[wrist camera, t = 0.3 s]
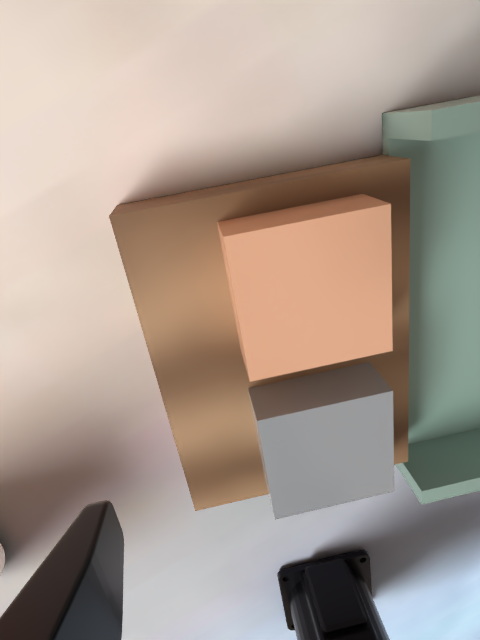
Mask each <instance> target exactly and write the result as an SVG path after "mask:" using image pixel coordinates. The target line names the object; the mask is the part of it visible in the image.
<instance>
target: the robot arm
mask: <svg viewBox="0 0 480 640" xmlns="http://www.w3.org/2000/svg"><path fill="white" fill-rule="evenodd" d="M123 565H124V538H123V532H122V529H121V526H120V523H119V521H118V518H117V515H116V513H115V510H114V507H113V505H112V503H111V502H110V501H107V500H105V501H101V502H96V503H92V504H89V505H87V506H86V507H85V508H84V509H83V510H82V512H81V513H80V514H79V516H78V517H77V518H76V519H75V521H74V522H73V523H72V525H71V526H70V527H69V529H68V530H67V531H66V533H65V534H64V535H63V536H62V538H61V539H60V540H59V542H58V543H57V544H56V546H55V547H54V548H53V550H52V551H51V552H50V553H49V555H48V556H47V557H46V559H45V560H44V561H43V563H42V564H41V565H40V566H39V568H38V569H37V570H36V572H35V573H34V574H33V576H32V577H31V578H30V580H29V581H28V582H27V583H26V585H25V586H24V587H23V589H22V590H21V591H20V593H19V594H18V595H17V597H16V598H15V599H14V600H13V602H12V603H11V604H10V606H9V607H8V608H7V610H6V611H5V612H4V613H3V615H2V616H1V617H0V640H121V636H122V614H123ZM278 580H279V586H280V591H281V596H282V601H283V606H284V611H285V616H286V622H287V626H288V629H289V630H295V631H296V636H297V640H390V639H389V637H388V635H387V632H386V630H385V628H384V625H383V623H382V620H381V618H380V616H379V613H378V611H377V608H376V606H375V604H374V601H373V599H372V592H371V572H370V558H369V555H368V553H367V551H365V550H360V551H355V552H351V553H347V554H343V555H339V556H335V557H331V558H327V559H322V560H318V561H314V562H310V563H306V564H302V565H298V566H294V567H290V568H285V569H282V570H280V571H279V572H278Z"/></svg>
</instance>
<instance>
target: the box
mask: <svg viewBox="0 0 480 640" xmlns="http://www.w3.org/2000/svg"><path fill="white" fill-rule="evenodd" d="M382 135H383V155H388V156H395V157H402V158H410V281H409V415H408V462H404V463H400V464H395V465H396V466H397V468H398V469H399V471H400V472H401V474H402V475H403V477H404V478H405V480H406V482H407V483H408V485H409V486H410V488H411V489H412V491H413V492H414V494H415V495H416V497H417V498H418V500H419V502H420V503H421V505H422V504H427V503H431V502H435V501H439V500H443V499H447V498H452V497H456V496H460V495H464V494H468V493H473V492H477V491H480V95H479V96H473V97H468V98H462V99H457V100H451V101H446V102H441V103H435V104H430V105H424V106H419V107H414V108H408V109H403V110H397V111H392V112H386V113H382Z"/></svg>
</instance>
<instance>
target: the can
mask: <svg viewBox="0 0 480 640" xmlns="http://www.w3.org/2000/svg"><path fill="white" fill-rule="evenodd" d="M4 564H5V553H4V550H3V547H2V545H1V543H0V576H1V573H2V571H3V568H4Z"/></svg>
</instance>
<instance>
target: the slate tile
mask: <svg viewBox="0 0 480 640" xmlns="http://www.w3.org/2000/svg"><path fill="white" fill-rule="evenodd" d="M248 391H249V396H250V402H251V407H252V412H253V418H254V423H255V429H256V434H257V439H258V445H259V450H260V455H261V461H262V466H263V472H264V477H265V482H266V486H267V490H268V494H269V498H270V502H271V505H272V509H273V513H274V517H275V519H279V518H283V517H287V516H291V515H296V514H300V513H304V512H308V511H313V510H317V509H321V508H325V507H330V506H334V505H338V504H342V503H347V502H351V501H355V500H359V499H364V498H368V497H372V496H376V495H380V494H385V493H389V492H393V491H394V427H393V390H392V389H391V388H390V386H389V385H388V384H387V383H386V382H385V380H384V379H383V378H382V377H381V376H380V374H379V373H378V372H377V371H376V369H375V368H374V367H373V366H372V365H371V363H370V362H367V363H362V364H358V365H353V366H349V367H344V368H339V369H335V370H330V371H326V372H321V373H316V374H312V375H307V376H303V377H298V378H294V379H289V380H284V381H280V382H275V383H271V384H266V385H261V386H257V387H252V388H248Z"/></svg>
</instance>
